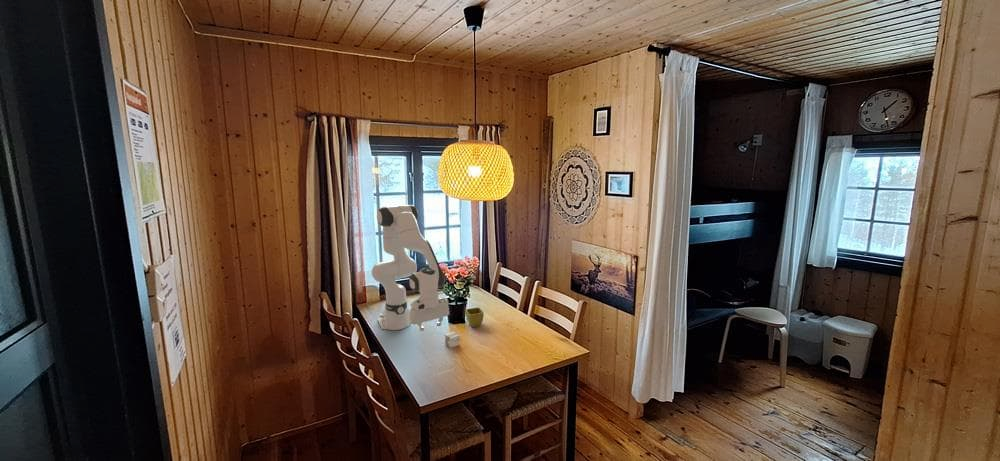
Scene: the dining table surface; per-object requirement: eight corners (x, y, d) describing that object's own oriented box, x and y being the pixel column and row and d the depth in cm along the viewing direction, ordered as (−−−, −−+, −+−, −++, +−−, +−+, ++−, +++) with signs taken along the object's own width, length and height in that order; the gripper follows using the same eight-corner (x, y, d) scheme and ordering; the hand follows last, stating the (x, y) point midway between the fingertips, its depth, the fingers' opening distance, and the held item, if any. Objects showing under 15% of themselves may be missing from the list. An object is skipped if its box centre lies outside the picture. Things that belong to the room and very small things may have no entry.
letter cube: (445, 344, 205) (444, 334, 204) (454, 341, 208) (454, 331, 207) (450, 348, 201) (450, 338, 200) (459, 345, 204) (459, 335, 203)
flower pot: (484, 327, 227) (484, 312, 225) (469, 329, 224) (469, 314, 222) (479, 321, 235) (479, 307, 233) (465, 323, 232) (465, 309, 230)
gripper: (445, 295, 201) (445, 321, 203) (407, 304, 189) (408, 331, 191) (451, 298, 196) (452, 324, 198) (413, 307, 184) (414, 335, 186)
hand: (430, 328), depth 194 cm, fingers open, 8 cm apart
